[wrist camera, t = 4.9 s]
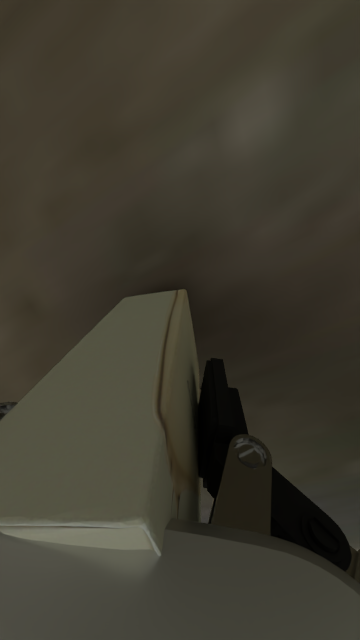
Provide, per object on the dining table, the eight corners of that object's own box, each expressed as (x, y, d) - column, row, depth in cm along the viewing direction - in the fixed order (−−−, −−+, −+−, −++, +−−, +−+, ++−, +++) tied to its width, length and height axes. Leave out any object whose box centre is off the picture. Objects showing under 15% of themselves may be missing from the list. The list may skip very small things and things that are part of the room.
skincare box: (199, 368, 16) (215, 681, 5) (140, 374, 17) (40, 673, 6) (186, 283, 14) (160, 534, 3) (117, 294, 14) (-137, 542, 3)
